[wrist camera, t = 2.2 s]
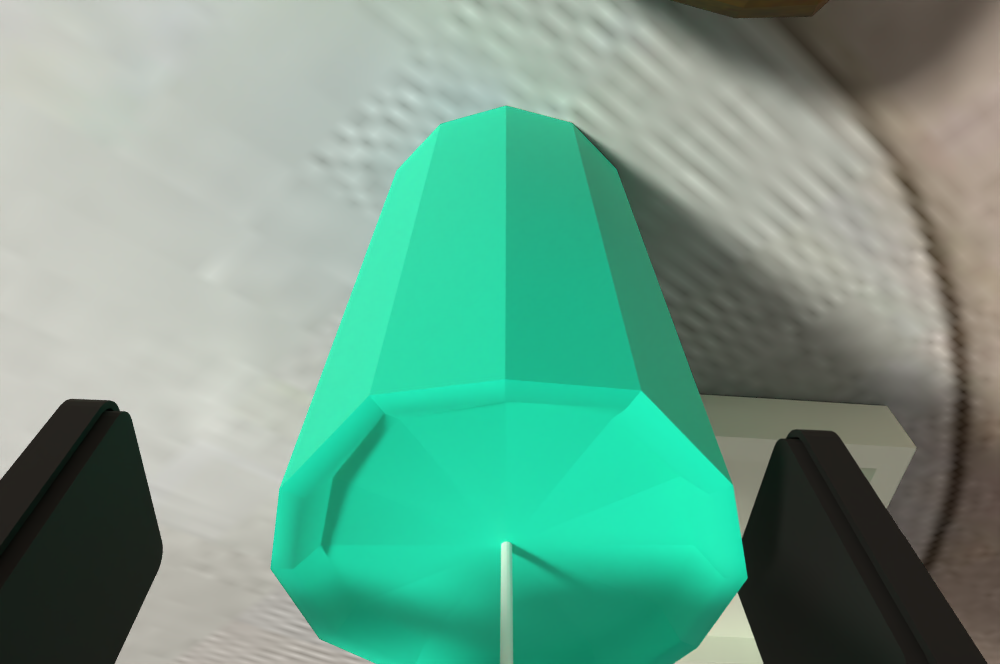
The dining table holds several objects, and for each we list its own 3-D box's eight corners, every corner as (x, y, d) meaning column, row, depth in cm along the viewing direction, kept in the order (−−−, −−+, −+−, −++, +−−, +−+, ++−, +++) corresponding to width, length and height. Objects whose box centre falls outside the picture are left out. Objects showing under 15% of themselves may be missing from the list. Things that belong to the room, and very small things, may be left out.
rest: (886, 405, 21) (917, 448, 19) (783, 634, 26) (800, 680, 25) (518, 383, 20) (519, 424, 19) (493, 619, 26) (492, 665, 25)
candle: (667, 266, 18) (862, 746, 8) (467, 364, 20) (429, 862, 10) (556, 53, 16) (646, 383, 6) (335, 187, 17) (97, 627, 7)
